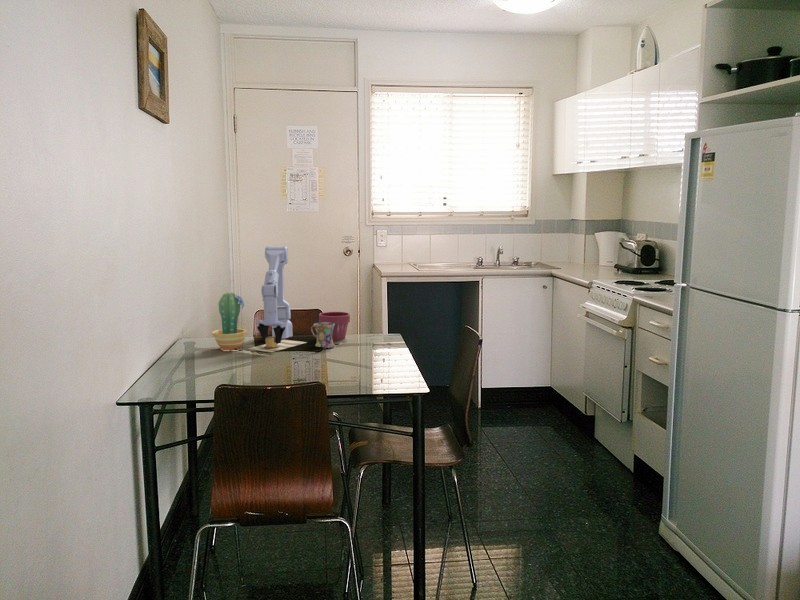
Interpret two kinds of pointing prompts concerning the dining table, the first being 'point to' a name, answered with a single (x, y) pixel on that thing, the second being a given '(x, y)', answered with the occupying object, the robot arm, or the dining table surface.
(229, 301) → the potted cactus
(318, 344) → the mug
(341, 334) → the plant pot
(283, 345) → the post board
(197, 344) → the dining table surface
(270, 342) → the brass collar
